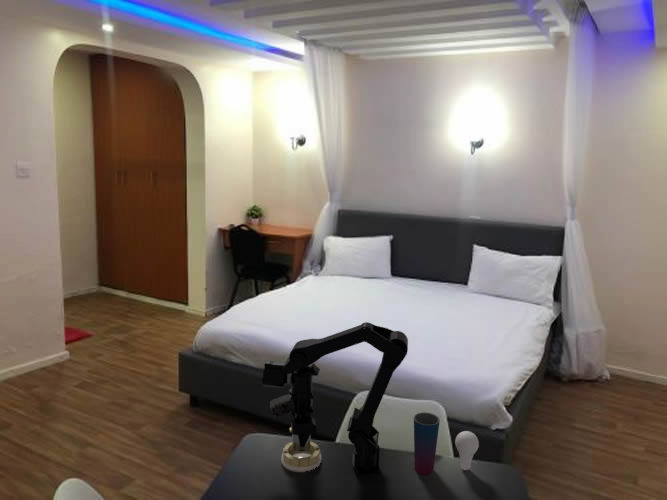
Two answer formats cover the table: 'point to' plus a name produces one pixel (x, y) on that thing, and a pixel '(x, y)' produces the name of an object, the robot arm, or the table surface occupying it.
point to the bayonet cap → (296, 443)
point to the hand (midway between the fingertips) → (301, 441)
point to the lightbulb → (466, 448)
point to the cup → (425, 442)
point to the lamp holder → (301, 458)
